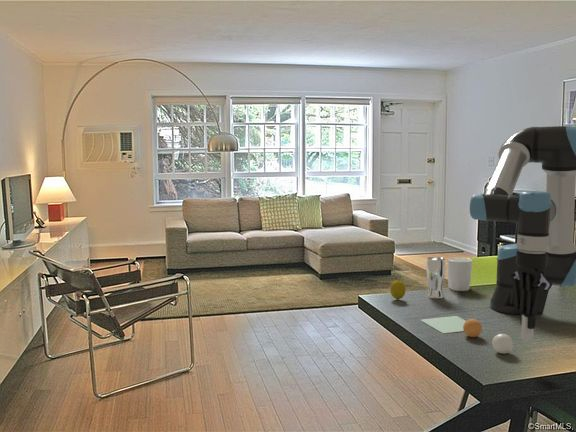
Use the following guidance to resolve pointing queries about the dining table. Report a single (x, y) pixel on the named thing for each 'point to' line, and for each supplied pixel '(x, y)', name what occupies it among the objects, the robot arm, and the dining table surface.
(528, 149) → the robot arm
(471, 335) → the object ball
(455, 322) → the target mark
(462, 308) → the dining table surface
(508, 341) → the cue ball
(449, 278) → the candle holder
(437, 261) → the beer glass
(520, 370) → the dining table surface
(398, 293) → the lemon
